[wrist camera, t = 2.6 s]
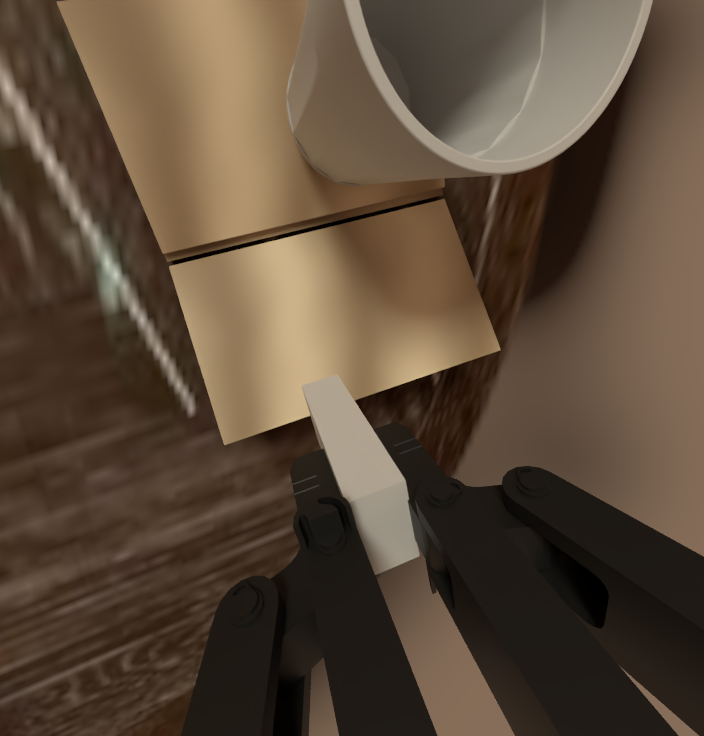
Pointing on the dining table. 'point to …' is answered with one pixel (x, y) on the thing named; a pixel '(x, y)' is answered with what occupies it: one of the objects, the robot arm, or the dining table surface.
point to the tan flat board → (213, 119)
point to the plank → (331, 314)
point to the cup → (453, 83)
